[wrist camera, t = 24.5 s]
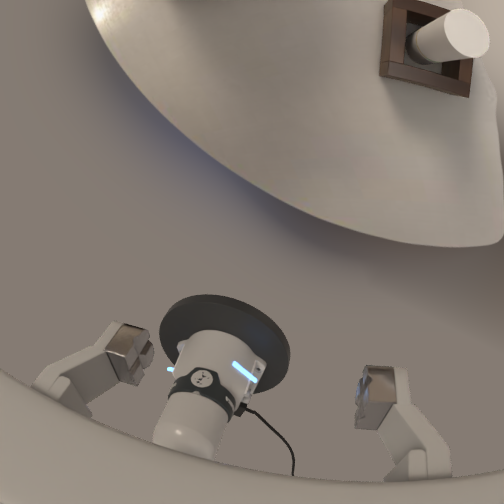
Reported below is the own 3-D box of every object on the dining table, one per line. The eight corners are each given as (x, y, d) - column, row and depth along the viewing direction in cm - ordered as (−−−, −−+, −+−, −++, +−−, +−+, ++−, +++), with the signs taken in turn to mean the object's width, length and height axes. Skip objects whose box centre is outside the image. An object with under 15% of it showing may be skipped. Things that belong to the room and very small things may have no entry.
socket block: (450, 94, 30) (469, 98, 25) (378, 75, 32) (387, 74, 27) (456, 26, 25) (475, 19, 20) (384, 5, 27) (392, -7, 22)
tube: (398, 49, 30) (435, 31, 17) (415, 25, 27) (457, -2, 15) (426, 71, 30) (475, 68, 17) (443, 47, 28) (497, 34, 15)
